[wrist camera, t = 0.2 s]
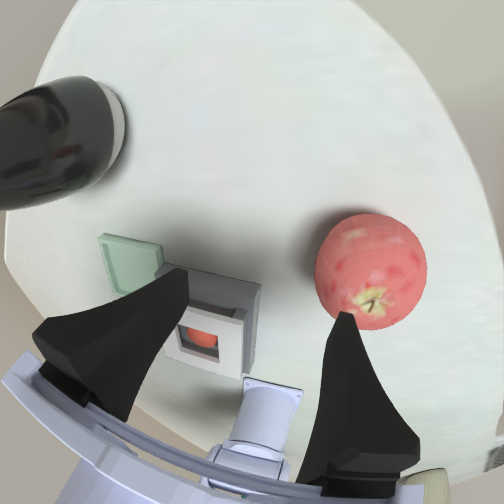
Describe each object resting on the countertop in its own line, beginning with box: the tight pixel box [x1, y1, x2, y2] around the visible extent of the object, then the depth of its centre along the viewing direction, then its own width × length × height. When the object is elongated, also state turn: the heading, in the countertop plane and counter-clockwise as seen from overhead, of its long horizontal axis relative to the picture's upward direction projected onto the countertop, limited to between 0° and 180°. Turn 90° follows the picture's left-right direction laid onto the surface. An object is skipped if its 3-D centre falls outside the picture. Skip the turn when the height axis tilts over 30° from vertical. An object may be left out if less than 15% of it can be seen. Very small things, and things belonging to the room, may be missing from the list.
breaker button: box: [187, 327, 218, 348], centre depth 27 cm, size 3×3×2 cm
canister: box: [405, 469, 450, 504], centre depth 38 cm, size 18×18×21 cm
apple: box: [314, 214, 427, 330], centre depth 17 cm, size 7×7×8 cm
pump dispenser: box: [0, 76, 125, 211], centre depth 14 cm, size 10×10×15 cm
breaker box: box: [154, 263, 261, 380], centre depth 27 cm, size 12×10×4 cm
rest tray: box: [98, 233, 164, 297], centre depth 28 cm, size 8×8×1 cm
